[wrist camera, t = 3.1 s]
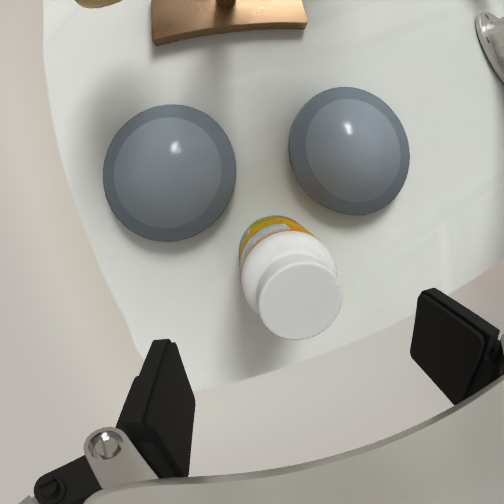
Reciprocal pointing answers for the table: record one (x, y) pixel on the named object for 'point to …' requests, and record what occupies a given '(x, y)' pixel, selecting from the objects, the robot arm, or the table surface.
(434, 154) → the table surface
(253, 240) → the supplement bottle
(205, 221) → the dish low side
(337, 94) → the dish high side
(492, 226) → the table surface
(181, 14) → the balance
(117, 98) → the table surface
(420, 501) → the robot arm
